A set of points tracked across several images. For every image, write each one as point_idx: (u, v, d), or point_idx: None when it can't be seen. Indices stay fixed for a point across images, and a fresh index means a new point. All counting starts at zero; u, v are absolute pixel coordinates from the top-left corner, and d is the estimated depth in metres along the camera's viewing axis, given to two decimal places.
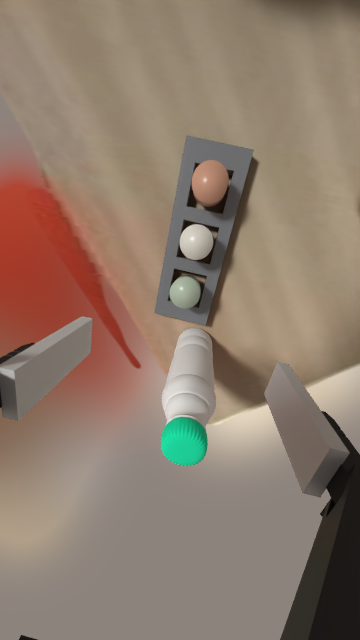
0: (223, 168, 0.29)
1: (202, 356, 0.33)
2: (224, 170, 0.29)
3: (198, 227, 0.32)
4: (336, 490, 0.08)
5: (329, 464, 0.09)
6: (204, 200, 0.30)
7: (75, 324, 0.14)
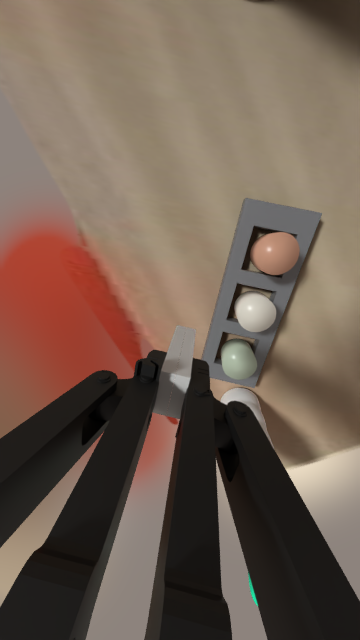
0: (294, 240, 0.26)
1: None
2: (295, 243, 0.26)
3: (261, 299, 0.28)
4: (180, 414, 0.10)
5: (178, 388, 0.11)
6: (269, 273, 0.27)
7: (179, 332, 0.16)
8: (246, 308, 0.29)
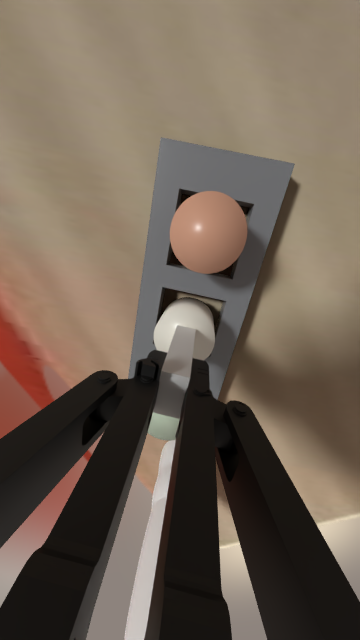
0: (235, 207, 0.13)
1: None
2: (238, 212, 0.13)
3: (188, 314, 0.17)
4: (180, 414, 0.10)
5: (178, 388, 0.11)
6: (197, 270, 0.15)
7: (179, 332, 0.16)
8: (166, 328, 0.17)
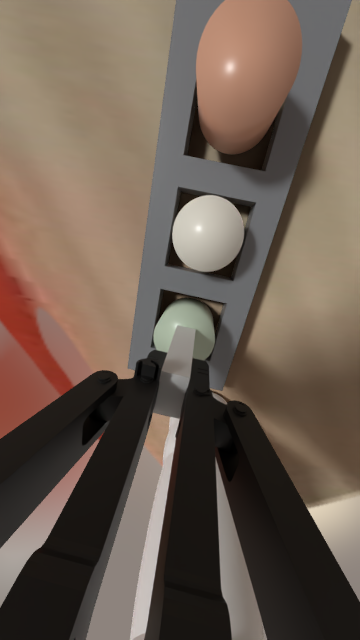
0: (288, 12, 0.10)
1: (224, 501, 0.14)
2: (291, 20, 0.10)
3: (213, 201, 0.14)
4: (180, 414, 0.10)
5: (178, 388, 0.11)
6: (230, 120, 0.11)
7: (179, 332, 0.16)
8: (187, 222, 0.15)
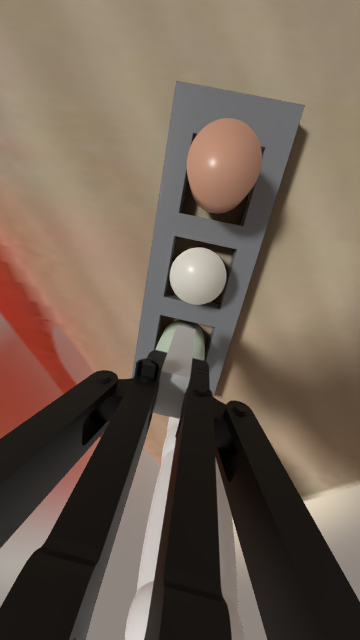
0: (251, 134, 0.14)
1: None
2: (253, 140, 0.14)
3: (202, 252, 0.18)
4: (180, 414, 0.10)
5: (178, 388, 0.11)
6: (212, 202, 0.15)
7: (179, 332, 0.16)
8: (181, 266, 0.19)
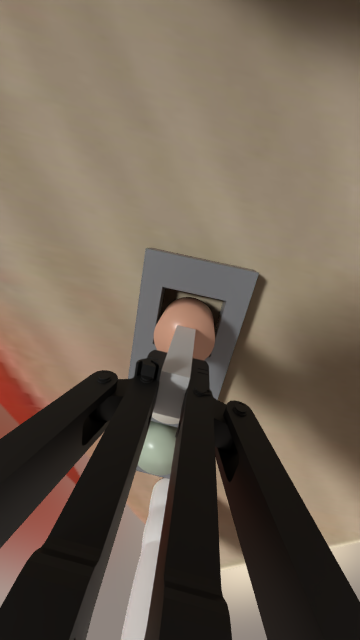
0: (205, 321, 0.17)
1: None
2: (207, 325, 0.17)
3: None
4: (180, 414, 0.10)
5: (178, 388, 0.11)
6: None
7: (179, 332, 0.16)
8: None
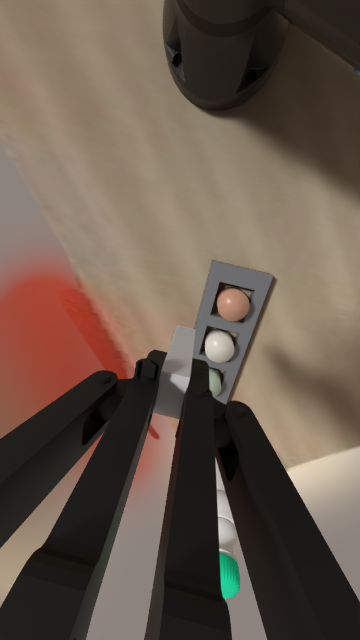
0: (245, 297, 0.34)
1: None
2: (246, 299, 0.34)
3: (222, 338, 0.37)
4: (180, 414, 0.10)
5: (178, 388, 0.11)
6: (228, 319, 0.35)
7: (179, 332, 0.16)
8: (211, 344, 0.37)
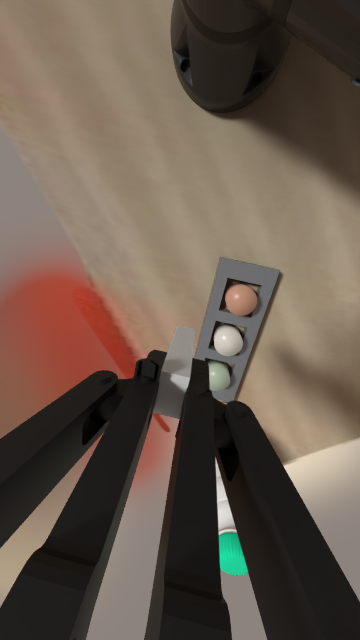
0: (253, 292, 0.35)
1: None
2: (254, 294, 0.35)
3: (231, 332, 0.38)
4: (180, 414, 0.10)
5: (178, 388, 0.11)
6: (236, 314, 0.37)
7: (179, 332, 0.16)
8: (220, 338, 0.39)
